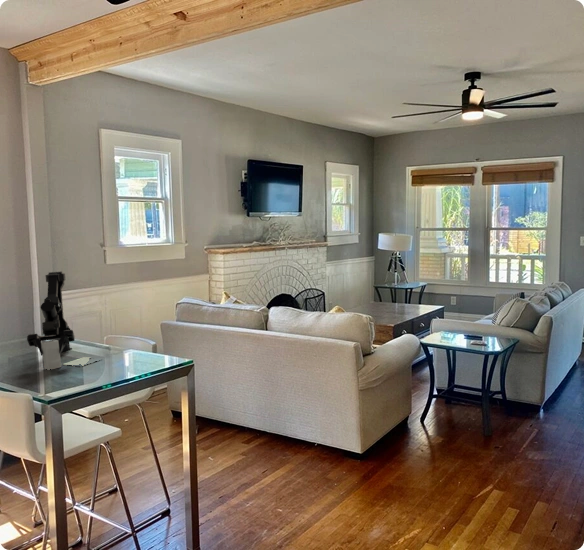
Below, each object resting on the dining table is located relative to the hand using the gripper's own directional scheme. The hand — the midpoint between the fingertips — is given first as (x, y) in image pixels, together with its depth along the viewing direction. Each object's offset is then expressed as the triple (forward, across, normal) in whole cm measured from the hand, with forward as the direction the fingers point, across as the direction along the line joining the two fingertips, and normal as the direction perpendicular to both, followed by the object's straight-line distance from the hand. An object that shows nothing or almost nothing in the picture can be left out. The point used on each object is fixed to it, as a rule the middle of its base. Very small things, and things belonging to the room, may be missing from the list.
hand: (50, 354), depth 237 cm
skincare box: (+4, 0, +6) cm, 7 cm away
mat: (+1, +12, +8) cm, 15 cm away
